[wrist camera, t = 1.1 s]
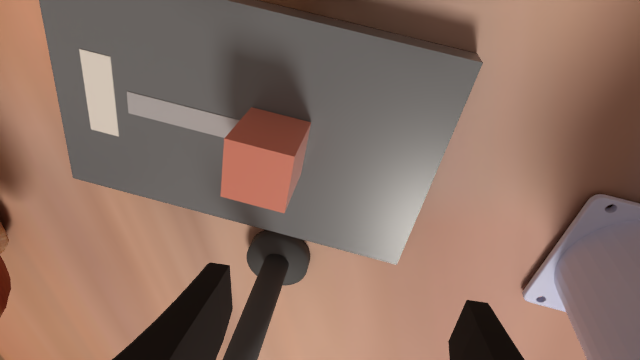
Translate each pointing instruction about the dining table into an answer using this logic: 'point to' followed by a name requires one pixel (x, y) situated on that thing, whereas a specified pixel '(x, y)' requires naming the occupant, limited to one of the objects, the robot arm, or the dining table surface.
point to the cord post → (266, 288)
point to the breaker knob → (264, 159)
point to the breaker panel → (262, 93)
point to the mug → (3, 272)
